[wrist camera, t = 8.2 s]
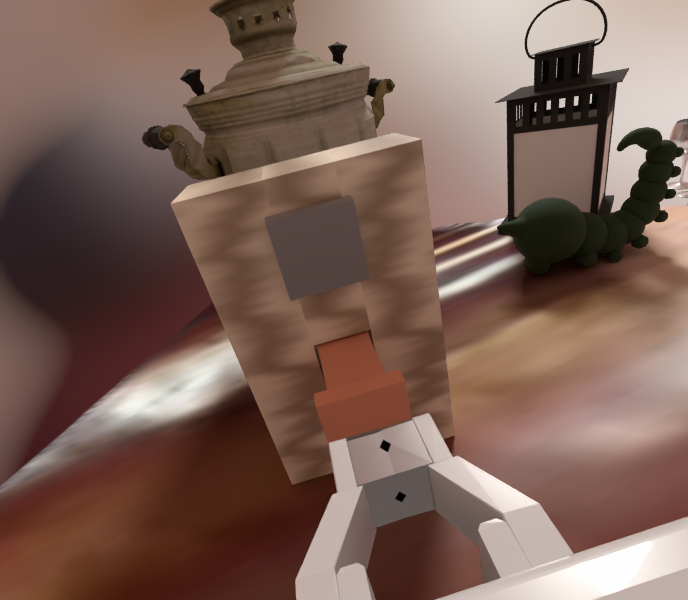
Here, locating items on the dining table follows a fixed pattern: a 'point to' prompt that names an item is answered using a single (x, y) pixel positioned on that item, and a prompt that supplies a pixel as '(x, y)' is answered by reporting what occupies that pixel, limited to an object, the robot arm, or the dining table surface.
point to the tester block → (330, 306)
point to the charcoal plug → (318, 247)
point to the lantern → (561, 130)
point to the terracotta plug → (358, 389)
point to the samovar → (271, 99)
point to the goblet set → (684, 136)
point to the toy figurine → (598, 230)
